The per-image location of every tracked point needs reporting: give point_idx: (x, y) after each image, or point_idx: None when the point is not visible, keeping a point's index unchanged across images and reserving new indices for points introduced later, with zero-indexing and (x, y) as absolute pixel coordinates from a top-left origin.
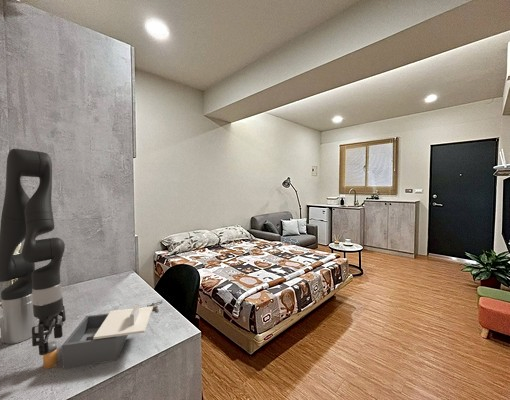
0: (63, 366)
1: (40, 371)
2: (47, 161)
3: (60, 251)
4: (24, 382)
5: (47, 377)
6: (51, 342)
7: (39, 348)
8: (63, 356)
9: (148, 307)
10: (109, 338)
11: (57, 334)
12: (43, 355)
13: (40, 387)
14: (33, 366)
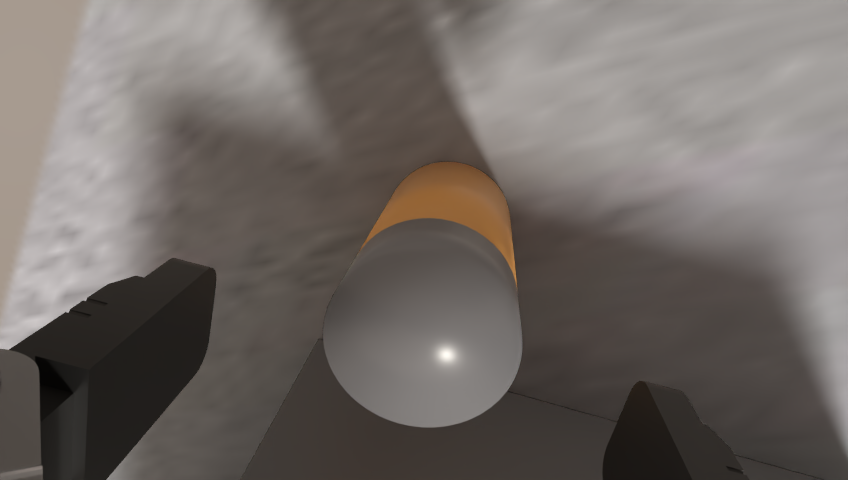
0: (311, 353)
1: (375, 147)
2: None
3: None
4: (253, 35)
5: (244, 232)
6: (495, 358)
7: (44, 339)
8: (272, 428)
9: None
10: None
11: (641, 463)
12: (384, 223)
13: (124, 204)
14: (517, 45)
